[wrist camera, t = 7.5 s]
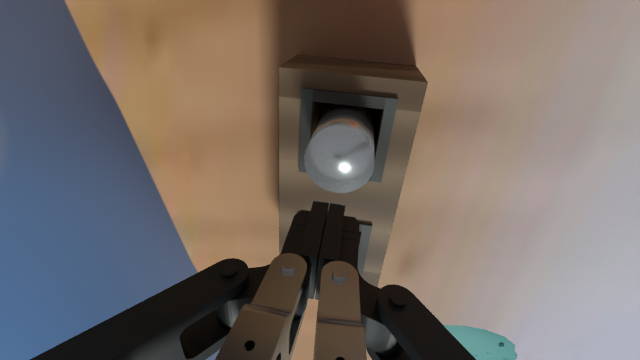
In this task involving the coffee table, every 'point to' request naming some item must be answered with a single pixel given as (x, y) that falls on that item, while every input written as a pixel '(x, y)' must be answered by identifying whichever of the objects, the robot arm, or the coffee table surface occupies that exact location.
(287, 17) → the coffee table surface
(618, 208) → the coffee table surface
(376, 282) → the walnut block
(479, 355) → the diorama
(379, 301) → the robot arm
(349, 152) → the steel peg
